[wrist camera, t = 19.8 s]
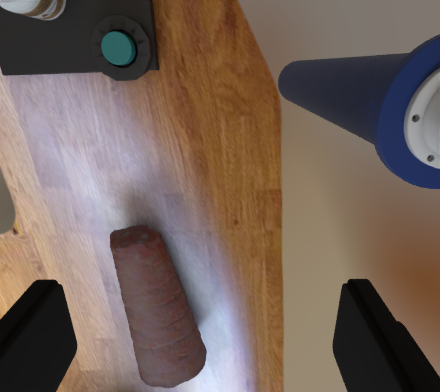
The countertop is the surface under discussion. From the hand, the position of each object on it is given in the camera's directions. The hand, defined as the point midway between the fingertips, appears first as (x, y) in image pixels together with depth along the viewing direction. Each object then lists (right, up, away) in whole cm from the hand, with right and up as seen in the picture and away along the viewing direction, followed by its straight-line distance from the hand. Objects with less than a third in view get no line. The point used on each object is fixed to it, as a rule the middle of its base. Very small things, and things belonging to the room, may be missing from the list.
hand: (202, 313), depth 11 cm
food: (-7, -8, +34) cm, 36 cm away
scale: (-14, +23, +21) cm, 34 cm away
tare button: (-9, +18, +20) cm, 28 cm away
